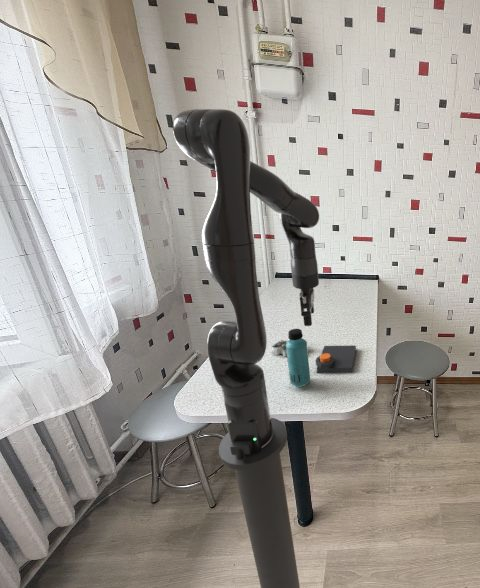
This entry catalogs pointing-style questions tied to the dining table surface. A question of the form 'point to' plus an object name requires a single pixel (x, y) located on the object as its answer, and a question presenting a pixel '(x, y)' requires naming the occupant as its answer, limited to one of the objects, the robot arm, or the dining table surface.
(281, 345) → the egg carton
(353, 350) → the scale
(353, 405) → the dining table surface
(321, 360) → the button
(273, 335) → the dining table surface
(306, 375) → the beverage bottle
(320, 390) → the dining table surface
